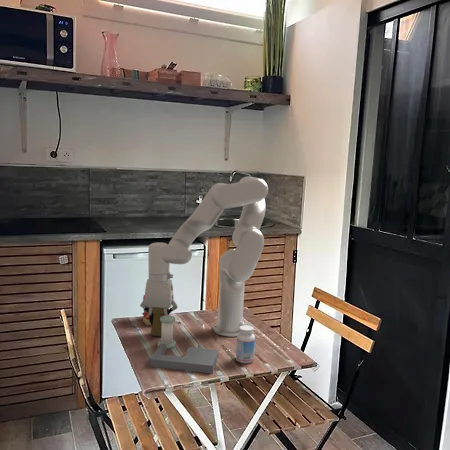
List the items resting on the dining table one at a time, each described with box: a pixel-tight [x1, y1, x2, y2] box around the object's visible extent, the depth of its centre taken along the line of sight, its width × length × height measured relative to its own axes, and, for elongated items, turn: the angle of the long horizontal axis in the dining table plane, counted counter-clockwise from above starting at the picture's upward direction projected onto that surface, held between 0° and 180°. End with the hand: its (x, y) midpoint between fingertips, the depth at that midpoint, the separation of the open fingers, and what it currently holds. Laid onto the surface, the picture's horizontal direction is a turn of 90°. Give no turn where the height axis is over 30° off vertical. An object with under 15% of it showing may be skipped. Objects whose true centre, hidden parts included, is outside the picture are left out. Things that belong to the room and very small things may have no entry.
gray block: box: [149, 344, 219, 374], centre depth 149 cm, size 20×12×2 cm, turn 83°
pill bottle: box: [235, 325, 256, 364], centre depth 152 cm, size 6×6×11 cm
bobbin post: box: [157, 314, 177, 350], centre depth 160 cm, size 6×6×10 cm
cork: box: [150, 307, 164, 337], centre depth 169 cm, size 6×6×11 cm
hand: (158, 324), depth 169 cm, fingers closed on cork, 4 cm apart
